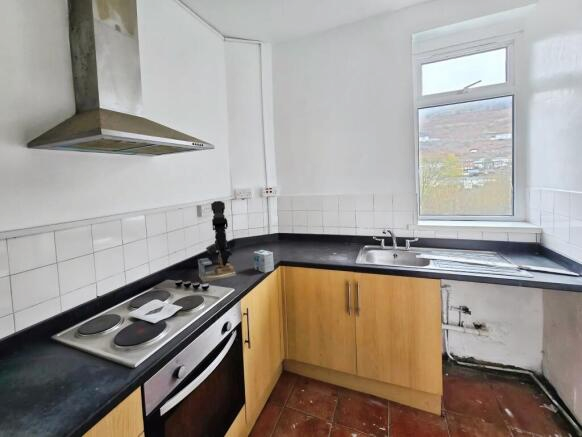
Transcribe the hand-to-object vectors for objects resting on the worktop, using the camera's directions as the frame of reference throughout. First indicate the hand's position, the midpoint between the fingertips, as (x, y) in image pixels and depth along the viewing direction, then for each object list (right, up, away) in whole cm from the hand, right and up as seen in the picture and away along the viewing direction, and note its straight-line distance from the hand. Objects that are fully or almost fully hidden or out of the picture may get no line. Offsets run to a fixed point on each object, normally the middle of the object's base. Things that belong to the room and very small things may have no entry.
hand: (223, 265), depth 160 cm
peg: (0, -3, 0) cm, 3 cm away
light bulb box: (+23, -4, +5) cm, 24 cm away
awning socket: (-3, -6, -1) cm, 7 cm away
